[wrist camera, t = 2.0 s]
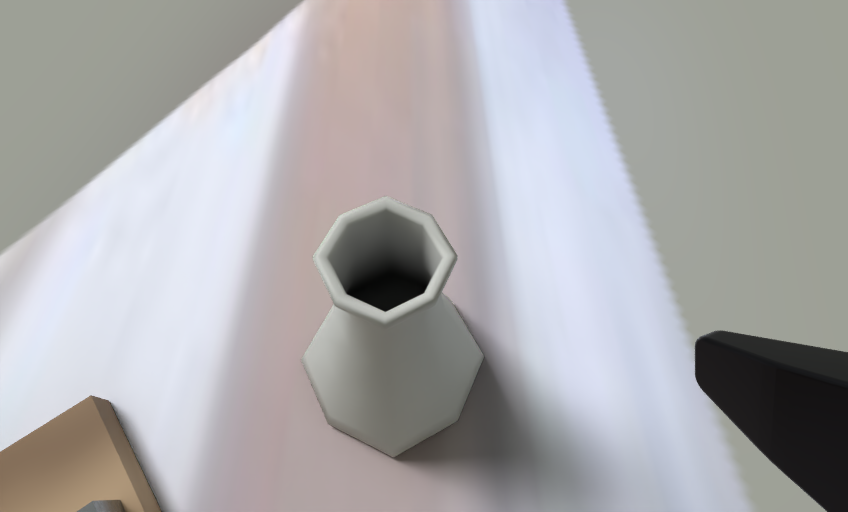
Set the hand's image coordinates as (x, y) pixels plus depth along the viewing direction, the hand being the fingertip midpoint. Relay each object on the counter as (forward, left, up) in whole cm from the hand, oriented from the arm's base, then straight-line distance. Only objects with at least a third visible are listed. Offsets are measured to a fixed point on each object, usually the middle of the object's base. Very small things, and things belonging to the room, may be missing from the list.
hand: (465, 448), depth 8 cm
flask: (+4, -1, -12) cm, 13 cm away
